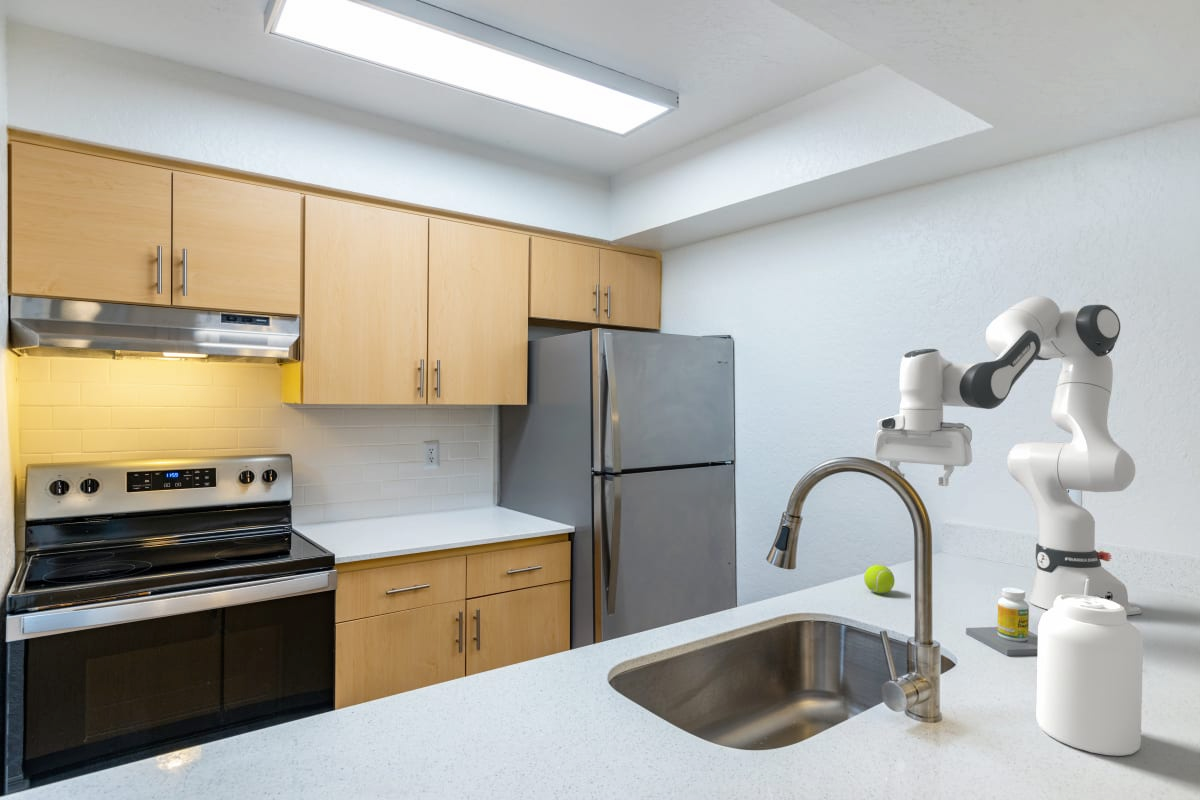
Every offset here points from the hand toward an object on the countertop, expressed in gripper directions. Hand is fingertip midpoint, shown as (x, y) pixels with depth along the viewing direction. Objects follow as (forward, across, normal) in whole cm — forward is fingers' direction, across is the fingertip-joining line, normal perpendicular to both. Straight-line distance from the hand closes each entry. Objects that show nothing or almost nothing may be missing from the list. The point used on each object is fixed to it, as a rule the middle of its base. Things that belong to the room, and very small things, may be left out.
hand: (921, 483), depth 151 cm
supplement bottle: (+29, -19, +3) cm, 35 cm away
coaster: (+30, -19, +3) cm, 36 cm away
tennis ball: (+31, +14, -11) cm, 36 cm away
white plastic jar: (+30, -37, +36) cm, 60 cm away
